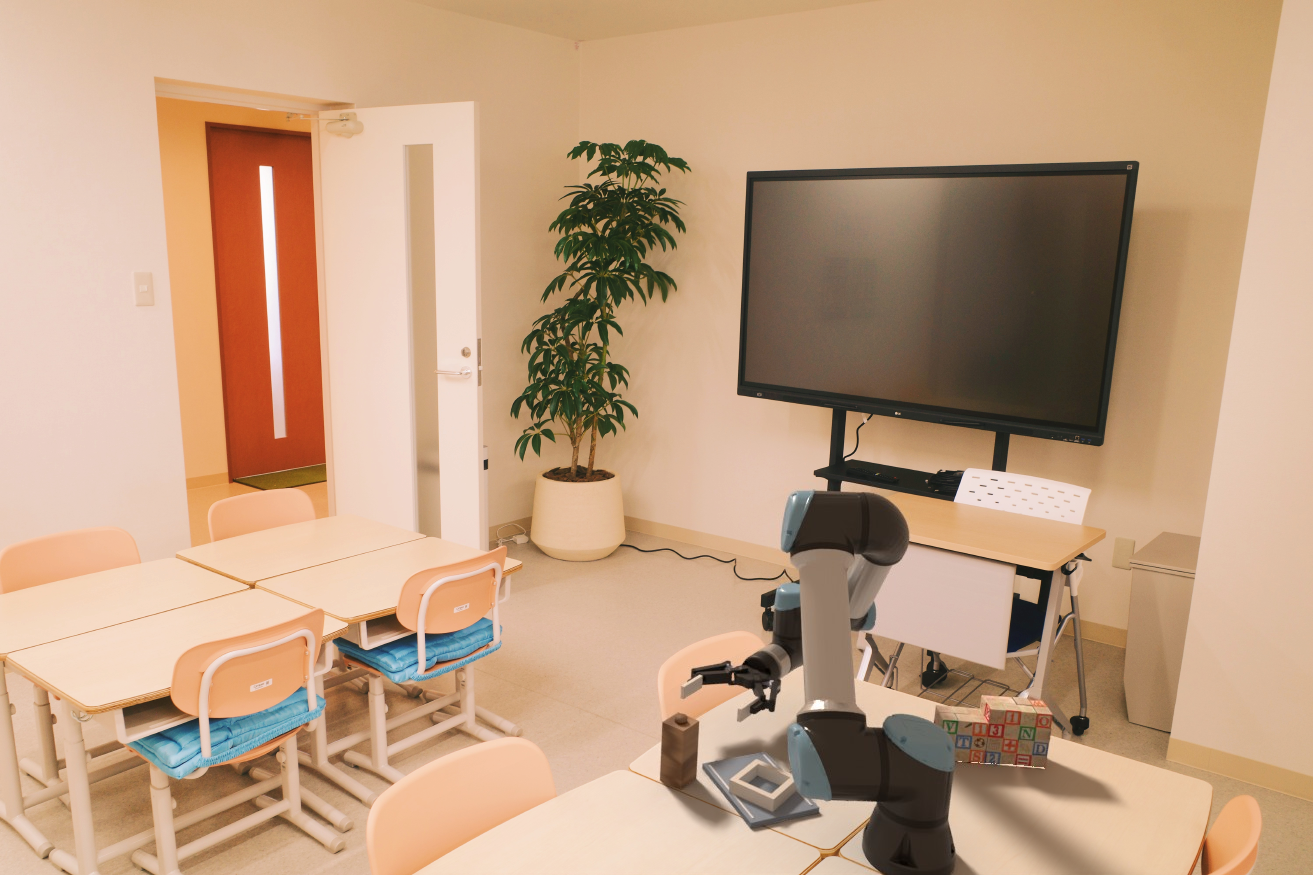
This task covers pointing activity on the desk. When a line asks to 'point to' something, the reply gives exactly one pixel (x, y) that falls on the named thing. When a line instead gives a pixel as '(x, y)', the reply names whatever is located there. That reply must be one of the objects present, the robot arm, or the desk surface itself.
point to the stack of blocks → (999, 731)
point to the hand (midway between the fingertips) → (709, 703)
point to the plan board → (747, 810)
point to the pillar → (679, 750)
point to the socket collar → (756, 795)
